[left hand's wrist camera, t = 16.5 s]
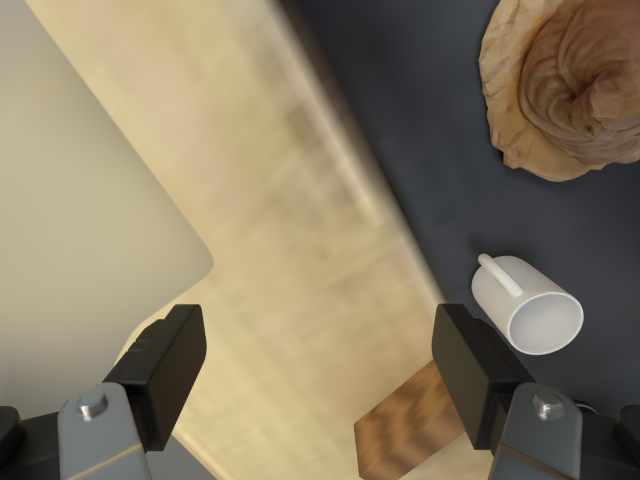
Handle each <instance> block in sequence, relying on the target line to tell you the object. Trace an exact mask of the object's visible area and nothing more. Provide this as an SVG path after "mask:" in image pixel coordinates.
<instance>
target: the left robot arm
mask: <svg viewBox="0 0 640 480" xmlns="http://www.w3.org/2000/svg"><path fill="white" fill-rule="evenodd" d="M206 349H207V343H206V336H205V329H204V322H203V315H202V309H201V306H200V305H199V304H176V305H175V306H174V307H173V308H172V309H171V311H170V312H169V313H168V315H167V316H166V317H165V319H158V320H157V321H155V322H154V323H152V324H151V325H149V326H148V327H146V328H145V329H144V330H143V331H142V333H141V334H140V335H139V336H138V338H137V339H136V342H134V343H133V344H132V345H131V346H130V348H129V349H128V352H126V353H125V354H124V355H123V356H122V358H121V359H120V360H119V361H118V363H117V364H116V365H115V366H114V368H113V369H112V370H111V372H110V373H109V374H108V375H107V377H106V378H105V379H104V380H103V382H102V383H100V384H96V385H93V386H90V387H88V388H85V389H83V390H82V391H80V392H78V393H76V394H75V395H73V396H72V397H71V398H70V399H69V400H68V401H66V402H65V404H64V405H63V406H62V407H61V409H60V411H58V412H55V413H51V414H47V415H43V416H39V417H34V418H30V419H26V420H21V418H20V416H19V413H18V411H17V410H16V409H15V408H13V407H10V406H0V480H152V477H151V473H150V470H149V467H148V463H147V460H146V457H145V455H146V453H147V451H163V450H164V448H165V446H166V443H167V441H168V439H169V437H170V435H171V433H172V430H173V428H174V426H175V424H176V422H177V419H178V417H179V415H180V413H181V411H182V409H183V406H184V404H185V402H186V400H187V398H188V395H189V393H190V391H191V389H192V387H193V385H194V382H195V380H196V378H197V376H198V374H199V372H200V369H201V367H202V365H203V363H204V360H205V356H206ZM432 354H433V359H434V361H435V364H436V366H437V368H438V370H439V373H440V375H441V377H442V379H443V381H444V384H445V386H446V388H447V390H448V392H449V395H450V397H451V399H452V401H453V403H454V406H455V408H456V410H457V412H458V414H459V417H460V419H461V421H462V423H463V426H464V428H465V430H466V432H467V434H468V437H469V439H470V441H471V443H472V445H473V448H474V450H490V451H491V453H492V455H493V457H494V460H493V463H492V467H491V470H490V473H489V477H488V480H640V405H627V406H625V407H623V408H622V409H621V411H620V414H619V416H618V418H617V419H612V418H608V417H604V416H600V415H596V414H591V413H587V412H583V411H580V409H579V407H578V406H577V405H576V404H575V402H574V401H572V400H571V399H570V398H569V397H568V396H567V395H565V394H564V393H562V392H560V391H558V390H557V389H555V388H552V387H550V386H547V385H544V384H540V383H536V381H535V380H534V379H533V378H532V376H531V375H530V374H529V373H528V371H527V370H526V369H525V368H524V366H523V365H522V364H521V362H520V361H519V360H518V359H517V357H516V356H515V355H514V354H513V352H512V351H510V350H509V347H508V346H507V345H506V343H505V342H504V341H502V338H501V337H500V336H499V335H498V333H497V332H496V331H495V330H494V328H492V327H491V326H490V325H488V324H487V323H485V322H484V321H482V320H481V319H474V318H473V317H472V316H471V314H470V313H469V311H468V310H467V309H466V307H465V306H464V305H463V304H439V305H438V306H437V309H436V316H435V323H434V330H433V337H432Z"/></svg>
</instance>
